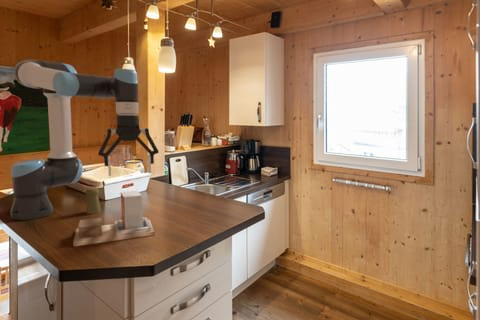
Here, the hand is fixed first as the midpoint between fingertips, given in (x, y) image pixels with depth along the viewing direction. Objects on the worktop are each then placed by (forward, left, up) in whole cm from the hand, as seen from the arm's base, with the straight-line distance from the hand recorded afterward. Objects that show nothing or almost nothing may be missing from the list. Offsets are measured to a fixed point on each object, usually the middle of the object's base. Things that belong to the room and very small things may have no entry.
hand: (130, 174), depth 113 cm
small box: (0, 0, -20) cm, 21 cm away
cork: (-14, +30, -22) cm, 40 cm away
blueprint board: (-6, 0, -22) cm, 22 cm away
